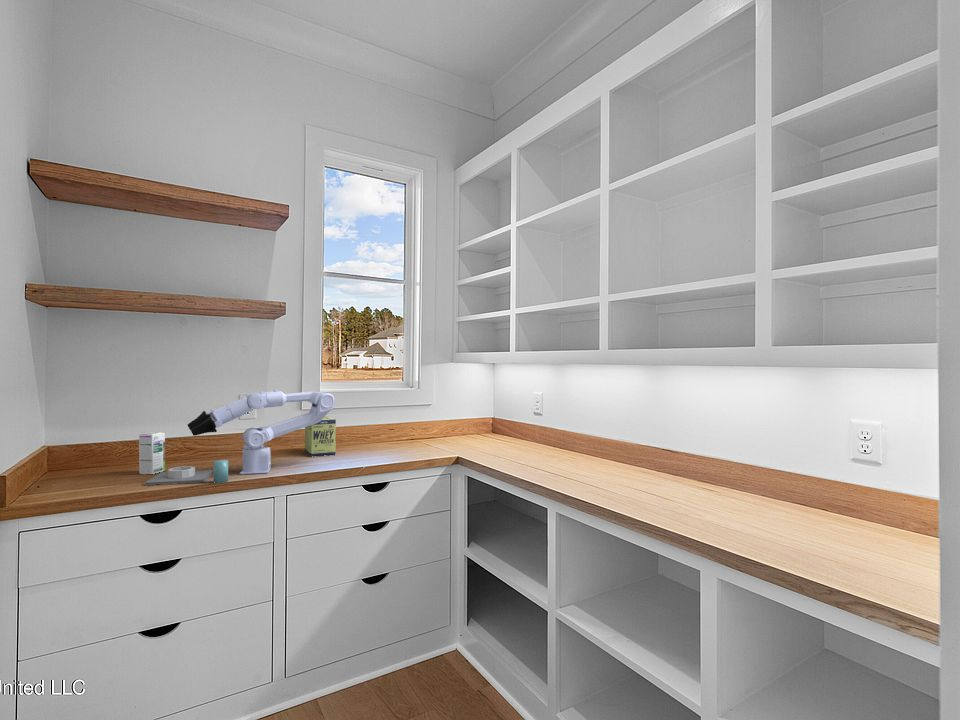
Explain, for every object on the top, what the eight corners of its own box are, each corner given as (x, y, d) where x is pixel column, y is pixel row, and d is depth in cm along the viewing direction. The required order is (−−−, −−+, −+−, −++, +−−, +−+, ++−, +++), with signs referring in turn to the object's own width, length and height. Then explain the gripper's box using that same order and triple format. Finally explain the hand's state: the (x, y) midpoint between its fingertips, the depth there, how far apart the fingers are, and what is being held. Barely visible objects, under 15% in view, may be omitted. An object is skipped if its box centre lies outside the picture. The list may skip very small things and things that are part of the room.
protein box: (311, 457, 217) (311, 420, 217) (304, 451, 231) (304, 417, 231) (336, 455, 222) (336, 419, 223) (327, 449, 236) (328, 416, 236)
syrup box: (152, 474, 182) (152, 434, 182) (138, 474, 184) (138, 433, 184) (165, 471, 188) (165, 431, 188) (151, 470, 189) (152, 431, 189)
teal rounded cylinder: (229, 480, 175) (229, 459, 175) (226, 483, 171) (226, 462, 171) (215, 480, 174) (215, 460, 174) (212, 483, 170) (212, 462, 170)
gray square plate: (214, 472, 187) (214, 463, 187) (202, 482, 171) (202, 472, 171) (161, 475, 182) (161, 465, 182) (144, 485, 167) (144, 474, 167)
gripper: (221, 398, 188) (182, 415, 181) (229, 406, 177) (188, 425, 170) (229, 414, 191) (190, 432, 184) (238, 424, 179) (197, 443, 172)
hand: (190, 430), depth 177 cm, fingers open, 7 cm apart
